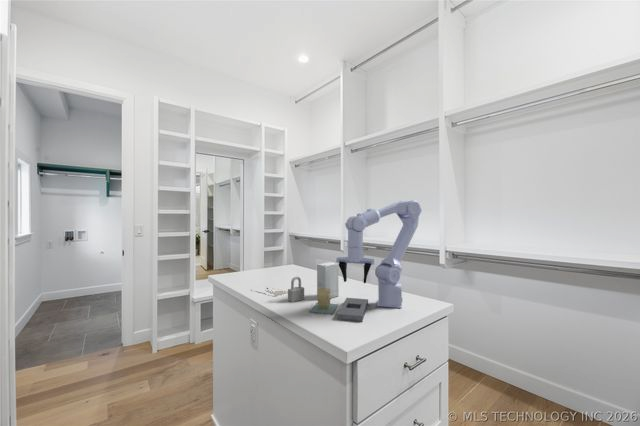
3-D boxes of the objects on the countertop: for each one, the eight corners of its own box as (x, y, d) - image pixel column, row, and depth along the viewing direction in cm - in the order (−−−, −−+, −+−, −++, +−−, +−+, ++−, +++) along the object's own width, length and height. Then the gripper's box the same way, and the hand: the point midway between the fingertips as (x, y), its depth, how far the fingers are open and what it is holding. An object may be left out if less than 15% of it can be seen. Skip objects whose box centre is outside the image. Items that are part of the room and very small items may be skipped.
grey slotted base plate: (368, 304, 116) (368, 299, 116) (362, 321, 97) (362, 316, 97) (346, 302, 118) (346, 297, 119) (336, 319, 99) (336, 313, 99)
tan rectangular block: (330, 306, 112) (330, 288, 112) (327, 309, 108) (327, 291, 108) (320, 305, 113) (320, 287, 113) (317, 308, 109) (317, 290, 109)
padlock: (299, 297, 126) (299, 274, 126) (305, 299, 124) (305, 276, 124) (286, 300, 121) (286, 277, 121) (293, 302, 118) (293, 278, 118)
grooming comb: (290, 292, 134) (290, 291, 134) (274, 297, 127) (274, 296, 127) (265, 286, 146) (265, 285, 146) (249, 291, 138) (249, 289, 138)
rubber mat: (338, 305, 115) (338, 304, 115) (332, 314, 104) (332, 313, 104) (317, 303, 117) (317, 302, 117) (308, 312, 107) (308, 311, 107)
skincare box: (330, 293, 132) (330, 261, 132) (339, 296, 127) (339, 263, 127) (316, 297, 126) (316, 263, 127) (325, 300, 122) (325, 265, 122)
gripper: (334, 247, 109) (334, 282, 109) (373, 248, 105) (372, 285, 105) (338, 245, 116) (338, 279, 116) (374, 246, 112) (374, 281, 112)
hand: (354, 282), depth 111 cm, fingers open, 7 cm apart
